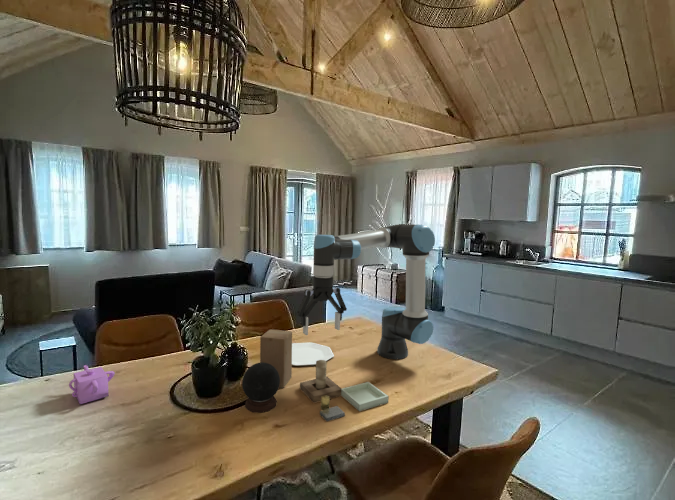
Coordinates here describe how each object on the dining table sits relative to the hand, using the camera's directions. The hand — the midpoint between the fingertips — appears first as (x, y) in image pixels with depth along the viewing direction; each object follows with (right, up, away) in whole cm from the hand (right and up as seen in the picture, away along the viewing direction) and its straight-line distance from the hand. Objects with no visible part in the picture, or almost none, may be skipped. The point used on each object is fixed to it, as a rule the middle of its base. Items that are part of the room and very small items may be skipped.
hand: (321, 331), depth 136 cm
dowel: (0, -24, +2) cm, 24 cm away
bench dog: (+2, -25, -9) cm, 27 cm away
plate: (-10, -21, +38) cm, 45 cm away
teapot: (-83, -23, -5) cm, 87 cm away
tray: (+16, -25, -2) cm, 29 cm away
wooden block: (-19, -23, +10) cm, 31 cm away
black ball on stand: (-21, -25, -8) cm, 33 cm away
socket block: (0, -24, +2) cm, 24 cm away
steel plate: (+4, -26, -13) cm, 29 cm away
